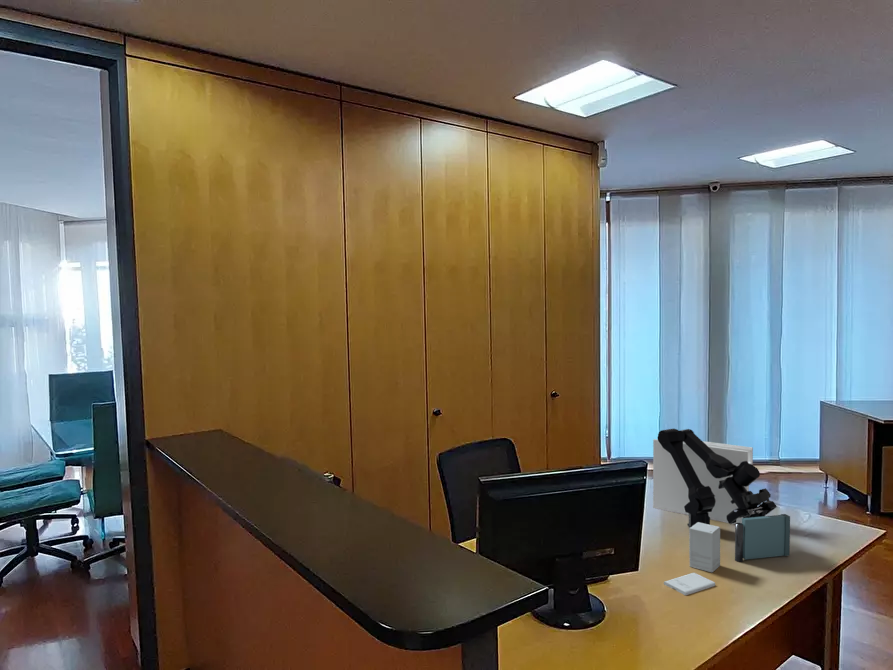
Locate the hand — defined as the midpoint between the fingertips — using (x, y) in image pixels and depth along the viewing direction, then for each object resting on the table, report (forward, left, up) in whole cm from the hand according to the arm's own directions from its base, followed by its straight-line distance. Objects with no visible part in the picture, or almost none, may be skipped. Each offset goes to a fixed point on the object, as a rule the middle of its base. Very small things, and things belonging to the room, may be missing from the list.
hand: (767, 535), depth 208 cm
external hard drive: (-30, -24, -8) cm, 39 cm away
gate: (-1, -2, -6) cm, 7 cm away
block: (-11, +39, -7) cm, 41 cm away
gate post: (-10, -5, -7) cm, 13 cm away
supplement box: (-22, -10, -7) cm, 25 cm away
